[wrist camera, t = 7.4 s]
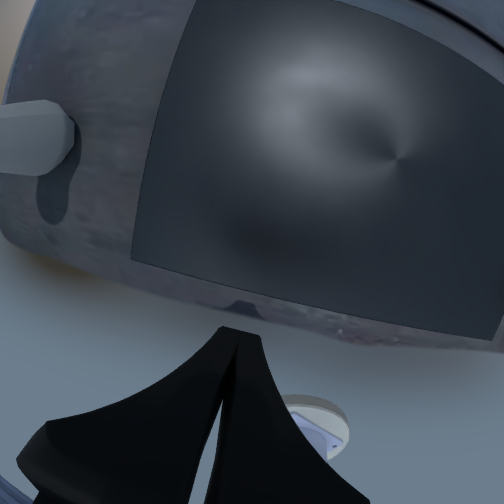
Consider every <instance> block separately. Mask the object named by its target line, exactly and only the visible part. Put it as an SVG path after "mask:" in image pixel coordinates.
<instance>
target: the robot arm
mask: <svg viewBox="0 0 504 504" xmlns="http://www.w3.org/2000/svg"><path fill="white" fill-rule="evenodd" d="M222 400H223V403H222ZM221 403H222V410H221V417H220V426H219V433H218V440H217V448H216V454H215V460H214V465H213V469H212V473H211V477H210V481H209V485H208V489H207V493H206V497H205V501H204V504H370V501H369V499H367V498H366V497H365V496H364V495H363V494H361V493H360V492H359V491H357V490H356V489H355V488H354V487H353V486H351V485H350V484H349V483H348V482H346V481H345V480H344V479H343V478H342V477H340V475H338V474H337V473H336V472H335V471H334V470H333V469H332V468H331V467H330V466H329V465H328V459H327V453H328V452H330V451H332V450H334V449H336V448H338V447H340V446H341V445H343V440H342V439H340V438H338V437H336V436H335V435H333V434H331V433H330V432H328V431H326V430H324V429H323V428H321V427H319V426H318V425H316V424H314V423H313V422H311V421H310V420H308V419H306V418H305V417H303V416H302V415H300V414H298V413H297V412H290V413H289V411H288V409H287V407H286V405H285V404H284V402H283V400H282V398H281V396H280V393H279V392H278V390H277V387H276V385H275V382H274V380H273V377H272V375H271V372H270V370H269V367H268V364H267V361H266V358H265V354H264V351H263V347H262V342H261V338H260V336H259V335H256V334H252V333H248V332H244V331H240V330H236V329H232V328H228V327H224V326H222V327H220V328H218V330H217V331H216V333H215V334H214V335H213V336H212V338H210V340H209V341H208V342H207V343H206V344H205V345H204V346H203V347H202V348H201V349H199V350H198V351H197V352H196V353H195V354H194V355H193V356H192V357H191V358H190V359H188V360H187V361H186V362H185V363H183V364H182V365H181V366H179V367H178V368H177V369H176V370H174V371H173V372H171V373H170V374H169V375H167V376H166V377H164V378H163V379H161V380H160V381H158V382H156V383H155V384H153V385H151V386H150V387H148V388H146V389H144V390H142V391H140V392H138V393H136V394H134V395H132V396H130V397H128V398H126V399H123V400H121V401H119V402H116V403H113V404H111V405H108V406H105V407H102V408H99V409H96V410H94V411H91V412H87V413H83V414H80V415H75V416H70V417H66V418H61V419H56V420H50V421H47V422H46V423H45V424H44V425H43V426H42V427H41V428H40V429H39V430H38V431H37V432H36V433H35V434H34V435H33V436H32V438H31V439H30V440H29V442H28V443H27V444H26V446H25V447H24V448H23V450H22V451H21V452H20V454H19V455H18V457H17V458H16V461H17V464H18V467H19V469H20V470H21V471H22V473H23V474H24V475H25V476H26V477H27V478H28V480H29V481H30V482H31V483H32V484H33V485H34V486H35V487H36V489H37V490H38V491H39V493H38V495H37V497H36V498H35V500H34V501H33V500H32V499H30V498H29V497H28V496H26V495H25V494H23V493H22V492H21V491H19V490H18V489H17V488H16V487H14V486H13V485H12V484H10V483H9V482H8V481H7V480H5V479H4V478H3V477H2V476H1V475H0V504H188V502H189V499H190V495H191V492H192V488H193V484H194V480H195V477H196V473H197V470H198V466H199V462H200V459H201V456H202V453H203V450H204V447H205V445H206V442H207V439H208V437H209V434H210V431H211V429H212V427H213V424H214V421H215V419H216V416H217V413H218V410H219V408H220V406H221Z"/></svg>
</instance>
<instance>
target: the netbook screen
mask: <svg viewBox="0 0 504 504" xmlns="http://www.w3.org/2000/svg"><path fill="white" fill-rule="evenodd" d="M131 259H132V260H135V261H138V262H142V263H145V264H149V265H152V266H156V267H159V268H163V269H166V270H170V271H173V272H177V273H181V274H184V275H188V276H192V277H195V278H199V279H203V280H206V281H210V282H214V283H218V284H222V285H225V286H229V287H233V288H237V289H241V290H245V291H249V292H253V293H257V294H261V295H265V296H269V297H273V298H277V299H282V300H286V301H290V302H294V303H298V304H303V305H307V306H312V307H316V308H320V309H325V310H329V311H334V312H338V313H343V314H348V315H352V316H357V317H362V318H367V319H372V320H377V321H382V322H387V323H392V324H397V325H402V326H407V327H413V328H418V329H423V330H429V331H435V332H440V333H446V334H452V335H458V336H464V337H470V338H477V339H483V340H490V341H492V339H493V337H494V335H495V333H496V331H497V328H498V326H499V324H500V322H501V320H502V317H503V315H504V85H503V84H502V83H501V82H499V81H498V80H497V79H495V78H494V77H493V76H491V75H490V74H488V73H487V72H486V71H484V70H483V69H481V68H480V67H478V66H477V65H475V64H474V63H472V62H471V61H469V60H468V59H466V58H465V57H463V56H461V55H460V54H458V53H456V52H455V51H453V50H451V49H450V48H448V47H446V46H444V45H442V44H441V43H439V42H437V41H435V40H433V39H431V38H429V37H427V36H425V35H423V34H421V33H419V32H417V31H415V30H413V29H411V28H409V27H406V26H404V25H402V24H400V23H397V22H395V21H393V20H390V19H388V18H385V17H383V16H380V15H377V14H375V13H372V12H369V11H366V10H363V9H361V8H358V7H354V6H351V5H348V4H345V3H341V2H338V1H334V0H196V3H195V5H194V7H193V10H192V12H191V15H190V17H189V20H188V22H187V25H186V27H185V30H184V32H183V35H182V38H181V40H180V43H179V46H178V49H177V52H176V54H175V57H174V60H173V63H172V66H171V69H170V72H169V76H168V79H167V82H166V85H165V89H164V92H163V95H162V99H161V102H160V106H159V110H158V113H157V117H156V121H155V125H154V129H153V133H152V137H151V141H150V146H149V150H148V155H147V159H146V164H145V169H144V174H143V179H142V184H141V190H140V196H139V201H138V208H137V214H136V221H135V227H134V235H133V243H132V251H131Z"/></svg>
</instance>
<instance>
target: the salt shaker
mask: <svg viewBox="0 0 504 504" xmlns="http://www.w3.org/2000/svg"><path fill="white" fill-rule="evenodd" d="M74 125H75V122H74V121H72V120H71V119H70V118H69V117H68V116H67V115H66V113H65V112H64V111H63V109H62V108H61V107H60V105H59V104H56V103H53V102H50V101H47V100H37V101H29V102H21V103H14V104H7V105H1V106H0V172H2V173H10V174H18V175H26V176H39V175H44V174H47V173H49V172H50V171H51V170H52V169H53V168H55V167H56V166H57V165H58V164H60V163H61V162H62V161H63V159H64V158H65V157H66V155H67V154H68V153H69V151H70V150H71V148H72V147H73V146H74Z"/></svg>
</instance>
